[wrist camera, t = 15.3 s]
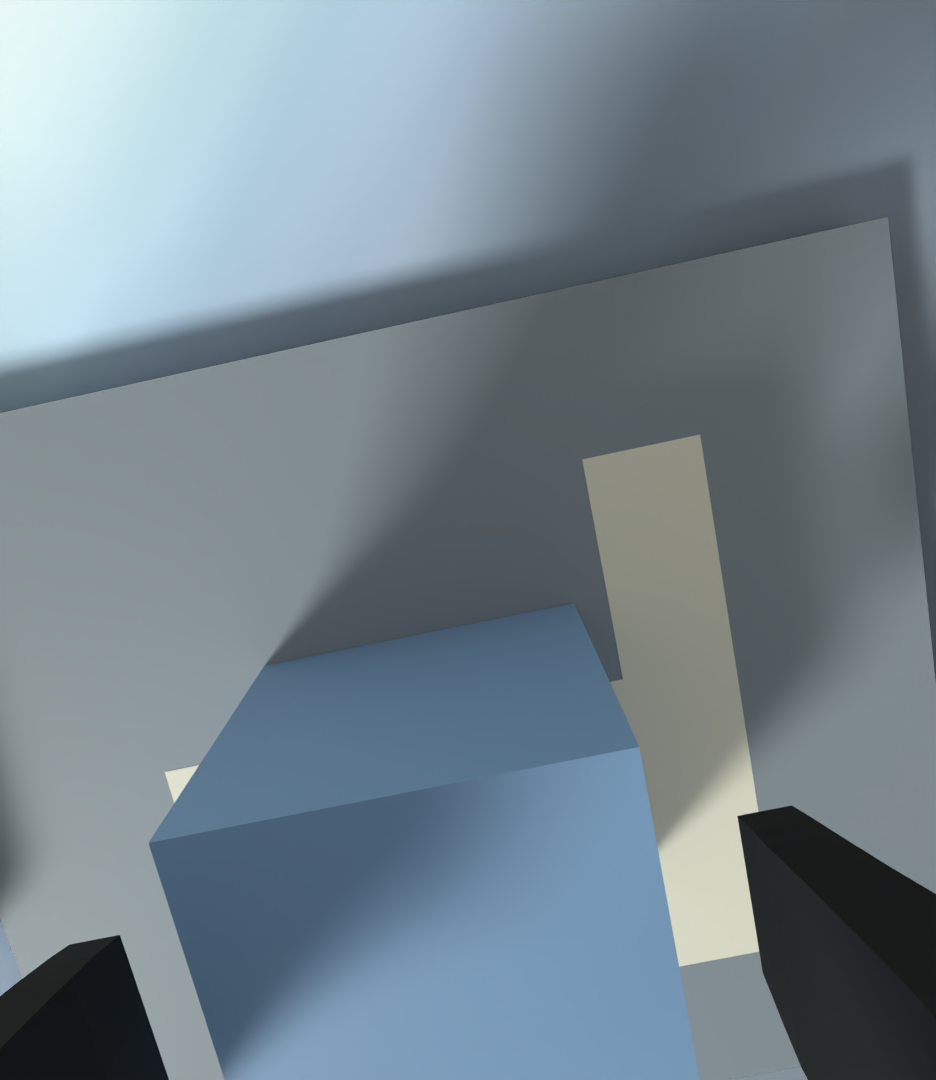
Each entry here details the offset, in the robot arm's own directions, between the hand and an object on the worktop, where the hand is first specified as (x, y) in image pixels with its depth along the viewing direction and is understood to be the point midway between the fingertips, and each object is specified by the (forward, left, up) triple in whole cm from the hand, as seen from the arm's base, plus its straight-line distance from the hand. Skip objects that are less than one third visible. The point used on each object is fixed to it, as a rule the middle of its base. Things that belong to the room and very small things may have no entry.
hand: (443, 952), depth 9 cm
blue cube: (0, 0, -4) cm, 4 cm away
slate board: (0, 0, -5) cm, 5 cm away
